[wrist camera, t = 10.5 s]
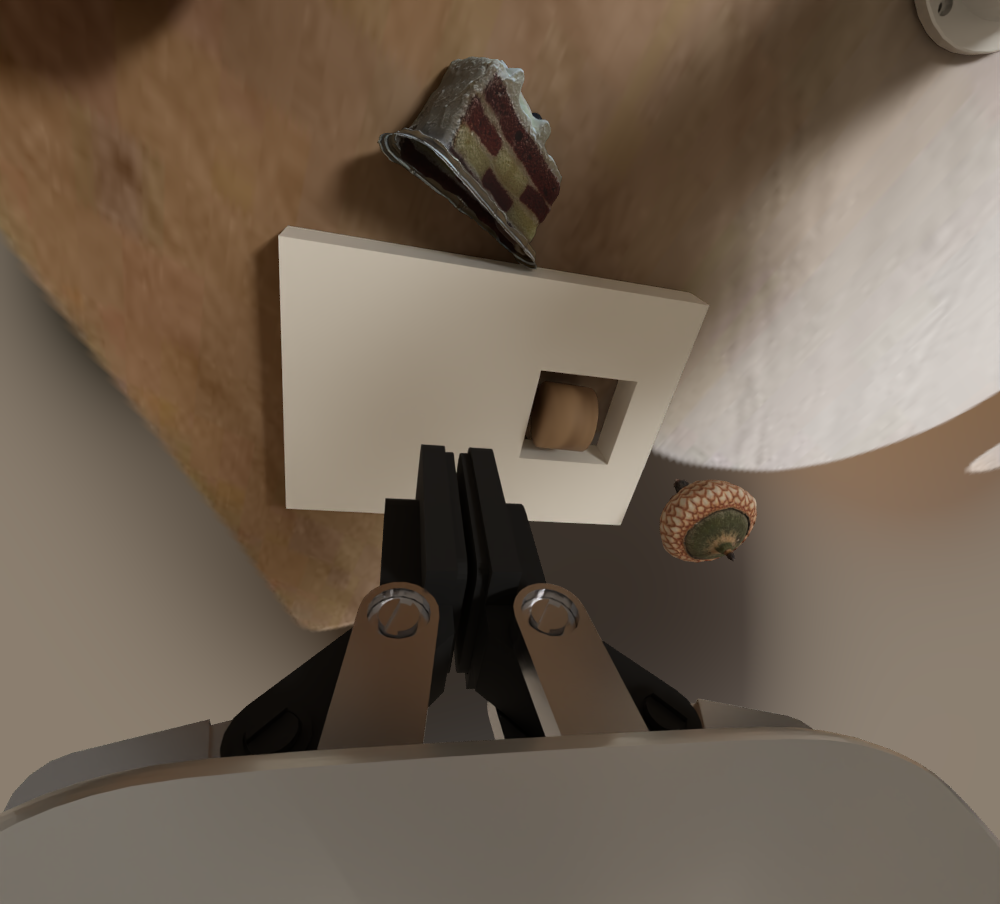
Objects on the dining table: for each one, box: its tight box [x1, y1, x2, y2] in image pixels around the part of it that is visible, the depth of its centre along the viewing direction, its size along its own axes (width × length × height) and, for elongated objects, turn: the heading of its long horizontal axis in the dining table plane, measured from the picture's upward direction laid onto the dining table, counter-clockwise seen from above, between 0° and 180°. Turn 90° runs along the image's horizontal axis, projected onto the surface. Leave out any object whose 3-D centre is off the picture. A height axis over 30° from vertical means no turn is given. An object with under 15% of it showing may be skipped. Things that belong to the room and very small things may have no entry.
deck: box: [278, 226, 710, 525], centre depth 40 cm, size 28×20×3 cm
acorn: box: [660, 479, 757, 562], centre depth 45 cm, size 8×8×10 cm
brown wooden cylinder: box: [531, 381, 598, 452], centre depth 40 cm, size 5×5×4 cm
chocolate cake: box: [377, 57, 562, 270], centre depth 31 cm, size 10×7×12 cm
